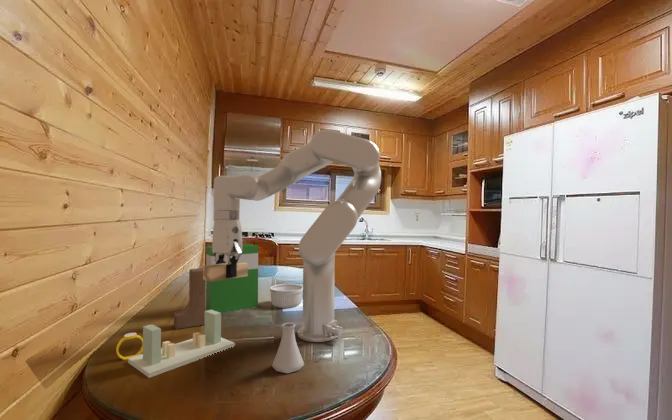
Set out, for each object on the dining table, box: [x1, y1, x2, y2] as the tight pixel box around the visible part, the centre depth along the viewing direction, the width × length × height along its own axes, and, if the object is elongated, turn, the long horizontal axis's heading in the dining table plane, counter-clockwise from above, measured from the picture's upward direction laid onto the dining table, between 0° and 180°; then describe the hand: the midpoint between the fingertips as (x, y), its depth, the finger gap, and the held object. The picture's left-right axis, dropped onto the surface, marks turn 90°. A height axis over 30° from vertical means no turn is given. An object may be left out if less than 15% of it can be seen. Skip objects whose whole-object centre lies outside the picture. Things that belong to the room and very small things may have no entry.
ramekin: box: [269, 283, 303, 309], centre depth 133 cm, size 13×13×7 cm
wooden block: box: [173, 267, 207, 330], centre depth 107 cm, size 9×4×18 cm, turn 122°
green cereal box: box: [205, 243, 259, 314], centre depth 127 cm, size 18×7×24 cm, turn 124°
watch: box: [115, 332, 143, 361], centre depth 83 cm, size 6×3×6 cm, turn 128°
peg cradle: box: [127, 310, 236, 379], centre depth 85 cm, size 12×22×9 cm, turn 142°
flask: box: [271, 322, 305, 374], centre depth 79 cm, size 7×7×10 cm
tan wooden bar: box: [202, 262, 248, 282], centre depth 101 cm, size 5×12×4 cm, turn 136°
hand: (226, 275), depth 101 cm, fingers closed on tan wooden bar, 5 cm apart
